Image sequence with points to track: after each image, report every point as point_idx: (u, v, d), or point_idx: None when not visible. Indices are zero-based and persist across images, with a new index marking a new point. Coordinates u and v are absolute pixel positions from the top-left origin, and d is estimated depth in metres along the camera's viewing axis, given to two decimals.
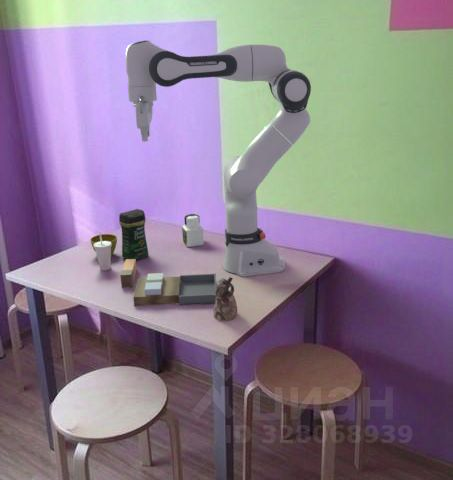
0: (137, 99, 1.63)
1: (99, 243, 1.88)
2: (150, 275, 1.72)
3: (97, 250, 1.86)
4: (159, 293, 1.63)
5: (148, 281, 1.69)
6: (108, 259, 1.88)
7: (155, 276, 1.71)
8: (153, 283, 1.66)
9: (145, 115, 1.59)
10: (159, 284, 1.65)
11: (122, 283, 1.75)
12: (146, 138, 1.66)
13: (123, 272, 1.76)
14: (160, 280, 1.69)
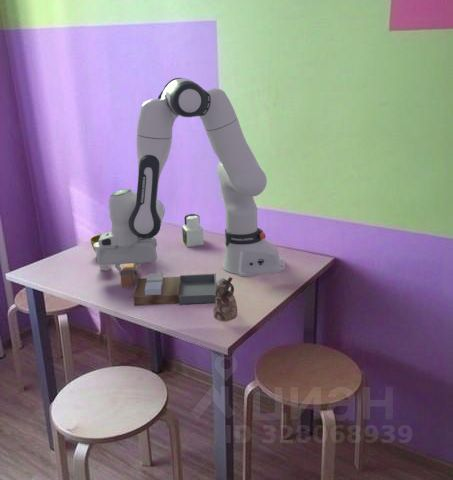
0: (137, 240, 1.76)
1: None
2: (150, 275, 1.72)
3: None
4: (159, 293, 1.63)
5: (148, 281, 1.69)
6: None
7: (155, 276, 1.71)
8: (153, 283, 1.66)
9: (155, 248, 1.80)
10: (159, 284, 1.65)
11: (122, 283, 1.75)
12: None
13: (123, 272, 1.76)
14: (160, 280, 1.69)
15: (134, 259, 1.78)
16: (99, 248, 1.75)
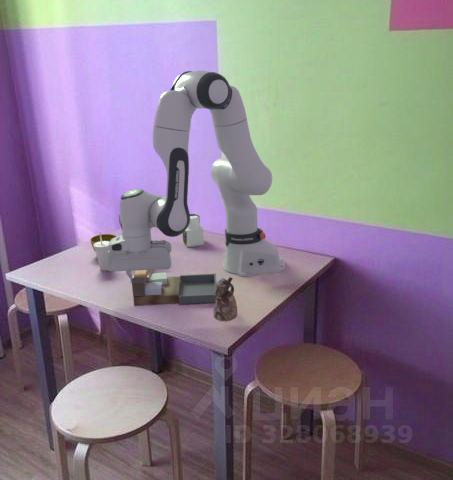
0: (150, 245, 1.62)
1: (99, 243, 1.88)
2: (154, 275, 1.72)
3: (97, 250, 1.86)
4: (159, 293, 1.63)
5: (153, 281, 1.69)
6: None
7: (158, 275, 1.71)
8: (153, 283, 1.66)
9: None
10: (159, 284, 1.65)
11: (134, 291, 1.61)
12: (150, 277, 1.68)
13: (135, 279, 1.62)
14: (165, 279, 1.69)
15: (146, 266, 1.64)
16: (109, 254, 1.61)
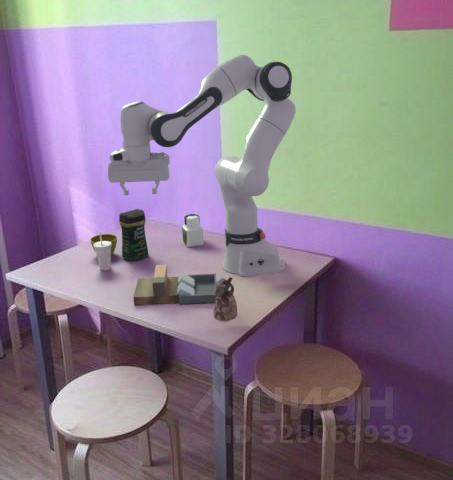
0: (149, 156, 1.70)
1: (99, 243, 1.88)
2: (184, 275, 1.72)
3: (97, 250, 1.86)
4: None
5: (181, 280, 1.69)
6: (108, 259, 1.88)
7: (187, 278, 1.72)
8: (187, 286, 1.66)
9: (168, 167, 1.74)
10: (192, 290, 1.66)
11: (154, 291, 1.61)
12: None
13: (155, 279, 1.62)
14: (192, 285, 1.70)
15: (146, 177, 1.72)
16: (110, 164, 1.69)
